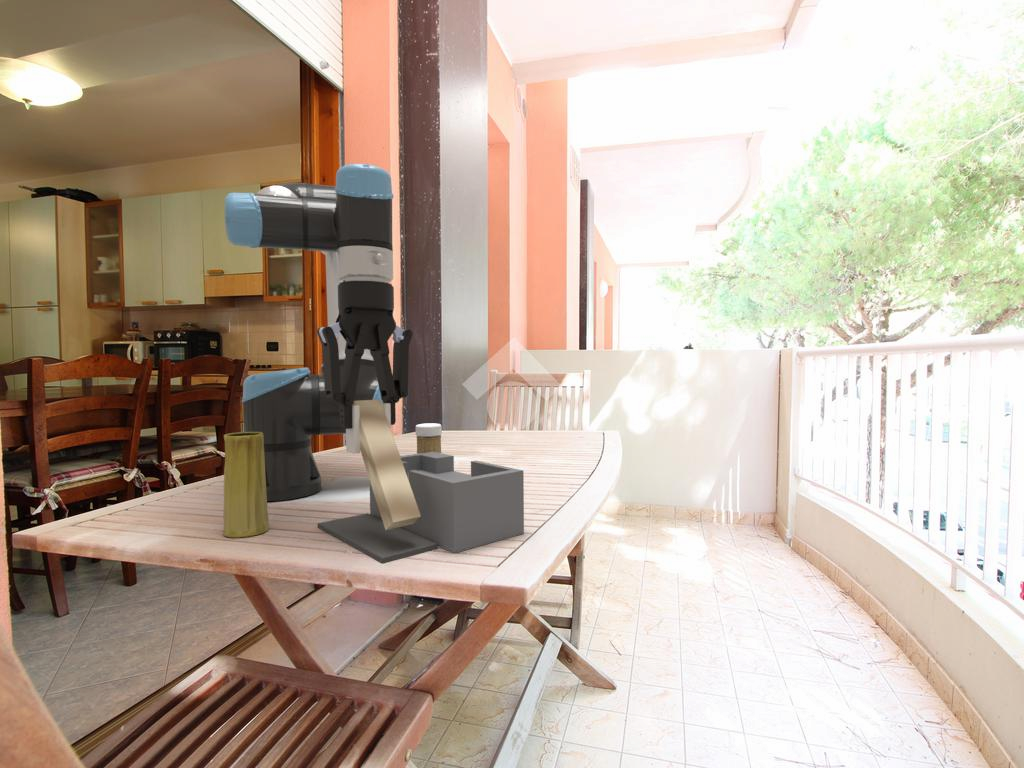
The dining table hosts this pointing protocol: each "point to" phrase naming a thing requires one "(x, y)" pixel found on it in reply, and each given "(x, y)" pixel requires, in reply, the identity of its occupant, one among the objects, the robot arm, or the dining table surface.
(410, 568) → the dining table surface
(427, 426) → the sprinkles bottle
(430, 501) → the pocket block
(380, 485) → the birch bar
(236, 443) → the vase
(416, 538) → the rubber mat
